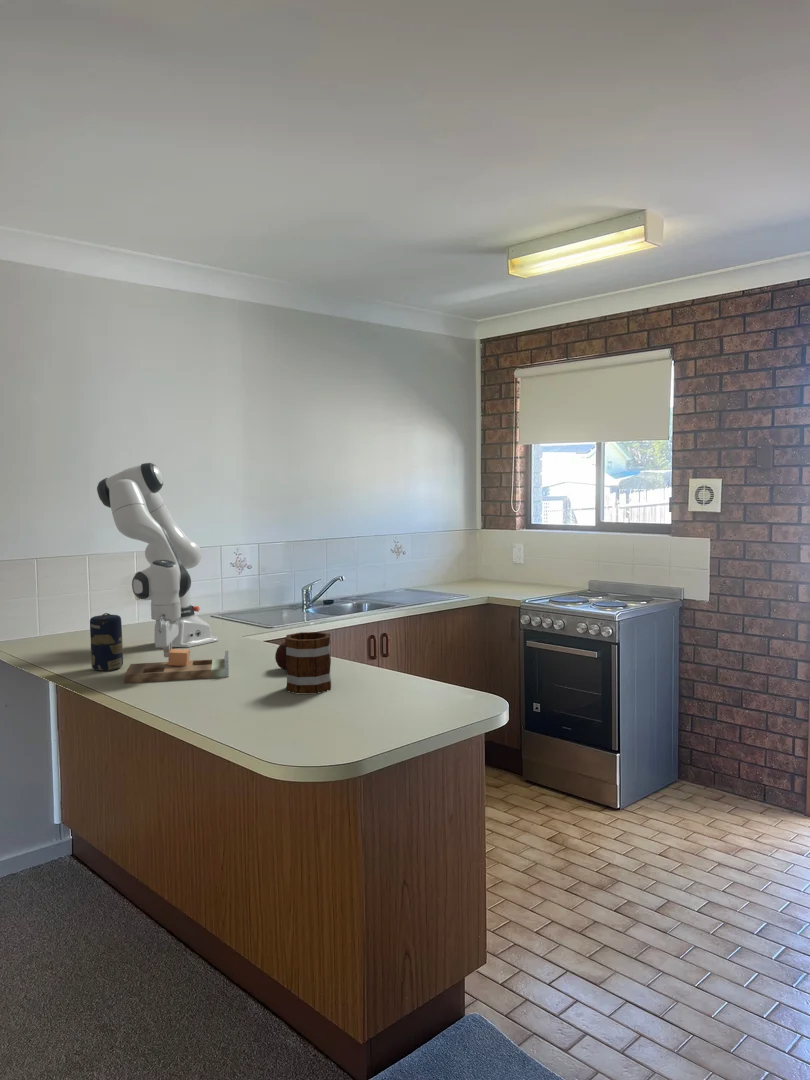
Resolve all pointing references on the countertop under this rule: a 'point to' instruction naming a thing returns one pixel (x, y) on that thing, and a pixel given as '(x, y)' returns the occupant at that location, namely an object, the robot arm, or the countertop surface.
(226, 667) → the end stop
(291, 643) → the mug
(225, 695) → the countertop surface
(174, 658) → the block
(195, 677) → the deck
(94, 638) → the canister
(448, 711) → the countertop surface
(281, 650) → the potato
